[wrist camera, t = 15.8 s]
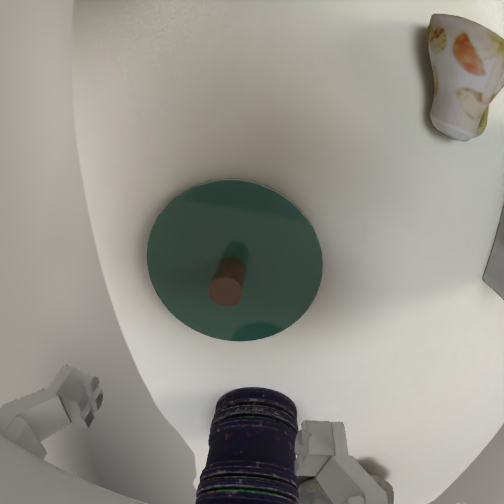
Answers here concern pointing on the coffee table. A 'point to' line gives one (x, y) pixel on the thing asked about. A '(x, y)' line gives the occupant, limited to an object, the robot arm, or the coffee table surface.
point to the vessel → (316, 500)
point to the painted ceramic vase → (463, 74)
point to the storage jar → (251, 450)
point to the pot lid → (234, 260)
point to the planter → (496, 262)
